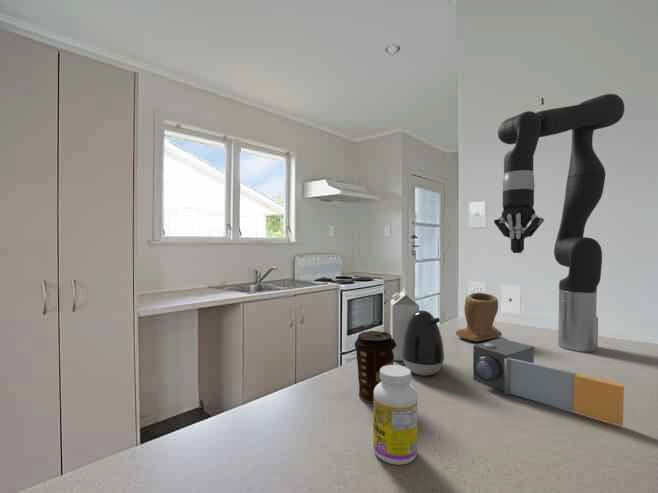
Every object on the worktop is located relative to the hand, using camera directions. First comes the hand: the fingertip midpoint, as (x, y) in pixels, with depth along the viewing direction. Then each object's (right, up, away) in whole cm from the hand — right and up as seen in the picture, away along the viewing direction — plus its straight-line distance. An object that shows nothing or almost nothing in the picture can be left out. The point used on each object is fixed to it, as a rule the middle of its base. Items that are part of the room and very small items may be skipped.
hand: (517, 252), depth 95 cm
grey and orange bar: (-7, -29, -28) cm, 41 cm away
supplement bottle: (-41, -30, -41) cm, 66 cm away
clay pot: (-2, -29, +19) cm, 35 cm away
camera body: (-12, -29, -15) cm, 35 cm away
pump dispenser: (-28, -30, -9) cm, 42 cm away
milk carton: (-31, -29, +2) cm, 42 cm away
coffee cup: (-42, -30, -23) cm, 56 cm away
